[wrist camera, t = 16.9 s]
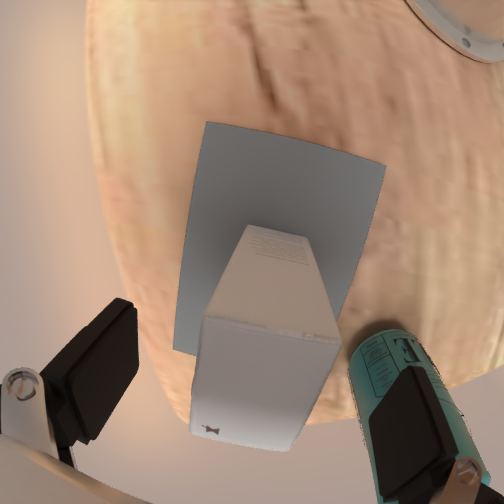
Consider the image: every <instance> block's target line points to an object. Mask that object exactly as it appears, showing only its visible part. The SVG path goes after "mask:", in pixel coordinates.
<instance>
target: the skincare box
mask: <svg viewBox="0 0 504 504" xmlns="http://www.w3.org/2000/svg"><path fill="white" fill-rule="evenodd" d="M342 344H343V342H342V339H341V336H340V333H339V330H338V327H337V323H336V320H335V317H334V314H333V311H332V308H331V305H330V302H329V298H328V295H327V292H326V289H325V286H324V283H323V280H322V277H321V274H320V271H319V268H318V266H317V263H316V260H315V257H314V254H313V251H312V248H311V246H310V243H309V240H308V238H306V237H304V236H299V235H294V234H289V233H285V232H281V231H276V230H272V229H268V228H263V227H259V226H254V225H247V227H246V229H245V231H244V233H243V235H242V237H241V239H240V241H239V243H238V245H237V247H236V249H235V251H234V253H233V254H232V256H231V259H230V261H229V263H228V265H227V267H226V268H225V270H224V273H223V275H222V277H221V279H220V281H219V283H218V285H217V287H216V289H215V291H214V293H213V295H212V298H211V300H210V302H209V304H208V306H207V308H206V310H205V312H204V314H203V316H202V319H201V327H200V335H199V343H198V351H197V359H196V366H195V374H194V378H193V382H192V390H191V396H192V398H191V411H190V425H189V432H190V433H191V434H193V435H196V436H200V437H204V438H209V439H213V440H217V441H222V442H226V443H231V444H236V445H242V446H246V447H253V448H258V449H265V450H273V451H284V452H286V451H289V450H291V448H292V446H293V445H294V443H295V441H296V439H297V438H298V436H299V434H300V432H301V430H302V429H303V427H304V425H305V423H306V421H307V419H308V417H309V415H310V414H311V412H312V410H313V407H314V405H315V403H316V401H317V399H318V397H319V395H320V393H321V391H322V388H323V386H324V384H325V382H326V380H327V378H328V376H329V374H330V371H331V369H332V367H333V365H334V362H335V360H336V358H337V355H338V353H339V351H340V349H341V347H342Z"/></svg>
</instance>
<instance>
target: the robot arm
mask: <svg viewBox="0 0 504 504" xmlns="http://www.w3.org/2000/svg"><path fill="white" fill-rule="evenodd" d="M406 1H407V3H408V4H409V5H410V7H411V8H412V9H413V10H414V12H415V13H416V14H417V16H418V17H419V18H420V19H421V20H422V21H423V22H424V23H425V24H426V25H427V26H428V27H429V28H430V29H431V30H432V31H433V32H434V33H435V34H436V35H437V36H439V37H440V38H441V39H442V40H443V41H445V42H446V43H447V44H449V45H450V46H451V47H452V48H454V49H456V50H457V51H459V52H460V53H462V54H463V55H465V56H467V57H469V58H471V59H473V60H476V61H479V62H482V63H491V64H493V63H497V62H501V61H503V60H504V0H406ZM138 367H139V354H138V320H137V309H136V308H134V305H133V303H132V302H129V301H126V300H124V299H120V298H115V299H114V300H113V301H112V302H111V303H110V304H109V305H108V306H107V307H106V308H105V309H104V310H103V311H102V312H101V313H100V314H99V315H98V316H97V317H96V318H94V320H93V321H91V322H90V323H89V325H88V326H85V327H84V328H83V329H82V330H81V331H80V332H79V333H78V334H77V335H76V336H75V337H74V338H73V339H72V340H71V341H70V342H69V343H68V344H67V345H66V346H65V347H64V348H63V349H62V350H61V351H60V352H59V353H58V354H57V355H56V356H55V357H54V358H53V360H52V361H51V362H50V363H49V364H48V365H47V366H46V367H45V368H44V369H43V370H42V371H41V372H40V373H37V372H36V371H35V370H33V369H30V368H24V367H21V368H16V369H14V370H11V371H10V372H9V373H8V374H7V375H6V376H5V377H4V379H3V382H2V384H0V504H152V503H150V502H147V501H144V500H141V499H139V498H136V497H134V496H131V495H129V494H126V493H124V492H122V491H119V490H117V489H115V488H112V487H110V486H108V485H106V484H104V483H102V482H100V481H98V480H96V479H93V478H91V477H90V476H88V475H86V474H83V473H82V472H80V471H78V468H77V465H76V461H75V457H74V453H73V449H72V446H73V445H74V443H75V442H76V440H78V441H80V442H82V443H84V444H86V445H88V443H89V441H90V440H95V439H96V438H97V437H98V435H99V433H100V432H101V430H102V428H103V427H104V425H105V423H106V422H107V420H108V418H109V417H110V415H111V413H112V412H113V410H114V409H115V407H116V405H117V404H118V402H119V401H120V399H121V397H122V396H123V394H124V392H125V391H126V389H127V388H128V386H129V384H130V383H131V381H132V379H133V378H134V376H135V375H136V373H137V371H138ZM368 424H369V429H370V435H371V440H372V446H373V452H374V459H375V465H376V472H377V479H378V487H379V493H380V496H382V497H383V503H389V502H396V501H397V500H398V503H399V504H504V497H503V496H502V495H501V494H499V493H498V492H496V491H495V490H493V489H491V488H490V487H488V486H487V485H485V484H484V483H482V482H481V480H482V470H481V467H480V465H479V464H478V462H477V461H476V460H475V459H473V458H471V457H469V456H463V457H460V458H459V459H457V460H456V459H455V457H456V456H457V455H458V454H459V450H458V448H457V445H456V442H455V439H454V437H453V434H452V431H451V429H450V426H449V424H448V421H447V419H446V416H445V414H444V411H443V409H442V406H441V404H440V402H439V399H438V397H437V395H436V393H435V390H434V388H433V386H432V384H431V381H430V379H429V377H428V375H427V373H426V371H425V369H424V367H422V366H413V365H409V366H407V367H406V368H405V369H403V370H402V371H401V372H400V374H399V375H398V377H397V378H396V380H395V381H394V383H393V384H392V386H391V387H390V388H389V390H388V391H387V393H386V394H385V396H384V397H383V398H382V400H381V401H380V402H379V404H378V405H377V407H376V408H375V409H374V410H373V412H372V413H371V415H370V417H369V420H368Z"/></svg>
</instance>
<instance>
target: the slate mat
mask: <svg viewBox="0 0 504 504" xmlns="http://www.w3.org/2000/svg"><path fill="white" fill-rule="evenodd" d="M385 169H386V166H385V165H382V164H380V163H377V162H374V161H371V160H368V159H365V158H362V157H358V156H355V155H352V154H349V153H346V152H342V151H339V150H335V149H332V148H329V147H325V146H321V145H318V144H314V143H310V142H306V141H302V140H298V139H294V138H290V137H286V136H281V135H277V134H272V133H268V132H263V131H258V130H253V129H248V128H243V127H237V126H232V125H226V124H220V123H213V122H206V126H205V130H204V135H203V140H202V145H201V149H200V154H199V159H198V165H197V170H196V175H195V181H194V186H193V192H192V198H191V204H190V210H189V216H188V222H187V229H186V235H185V242H184V249H183V257H182V264H181V272H180V280H179V289H178V298H177V307H176V317H175V328H174V340H173V350H177V351H180V352H183V353H187V354H190V355H194V356H197V351H198V343H199V335H200V327H201V319H202V316H203V314H204V312H205V310H206V308H207V306H208V304H209V302H210V300H211V298H212V295H213V293H214V291H215V289H216V287H217V285H218V283H219V281H220V279H221V277H222V275H223V273H224V270H225V268H226V267H227V265H228V263H229V261H230V259H231V256H232V254H233V253H234V251H235V249H236V247H237V245H238V243H239V241H240V239H241V237H242V235H243V233H244V231H245V229H246V227H247V225H254V226H259V227H263V228H268V229H272V230H276V231H281V232H285V233H289V234H294V235H299V236H304V237H306V238H308V240H309V243H310V246H311V248H312V251H313V254H314V257H315V260H316V263H317V266H318V268H319V271H320V274H321V277H322V280H323V283H324V286H325V289H326V292H327V295H328V298H329V302H330V305H331V308H332V311H333V314H334V317H335V320H336V321H337V319H338V316H339V314H340V311H341V309H342V306H343V304H344V301H345V298H346V296H347V293H348V290H349V288H350V285H351V282H352V279H353V277H354V274H355V271H356V268H357V265H358V262H359V259H360V256H361V253H362V250H363V247H364V244H365V241H366V238H367V235H368V231H369V228H370V225H371V221H372V218H373V215H374V211H375V208H376V204H377V200H378V197H379V193H380V189H381V185H382V181H383V177H384V173H385Z"/></svg>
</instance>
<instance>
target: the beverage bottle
mask: <svg viewBox="0 0 504 504" xmlns="http://www.w3.org/2000/svg"><path fill="white" fill-rule="evenodd" d="M416 338H417V337H416ZM416 338H414V337H413V336H412V335H411V334H410V333H408V332H406V331H403V330H399V329H389V330H384V331H381V332H378V333H376V334H374V335H372V336H370V337H368V338H367V339H366V340H364V341H363V342H362V343H361V344H360V345H359V346H358V347H357V348H356V350H355V351H354V353H353V355H352V357H351V359H350V364H349V369H348V370H349V376H350V378H349V379H348V380H351V384H352V385H351V386H352V387H351V386H350V387H351V388H353V391H352V392H354V395H352V396H355V399H354V397H353V400H356V403H355V404H354V405H356V404H357V408H358V412H359V416H360V421H361V422H360V423H361V424H362V429H363V433H364V437H365V441H366V445H367V448H368V453H369V458H370V463H371V468H372V473H373V478H374V484H375V490H376V495H377V501H378V504H399V503H398V500H397V501H396V502H389V503H383V497H382V496H380V493H379V487H378V479H377V472H376V465H375V459H374V452H373V446H372V440H371V435H370V429H369V424H368V420H369V417H370V415H371V413H372V412H373V410H374V409H375V408H376V407H377V405H378V404H379V402H380V401H381V400H382V398H383V397H384V396H385V394H386V393H387V391H388V390H389V388H390V387H391V386H392V384H393V383H394V381H395V380H396V378H397V377H398V375H399V374H400V372H401V371H402V370H403V369H405V368H406V367H407V366H409V365H413V366H422V367H424V369H425V371H426V373H427V375H428V377H429V379H430V381H431V384H432V386H433V388H434V390H435V393H436V395H437V397H438V399H439V402H440V404H441V406H442V409H443V411H444V414H445V416H446V419H447V421H448V424H449V426H450V429H451V431H452V434H453V437H454V439H455V442H456V445H457V448H458V450H459V454H458V455H457V456H456V457H455V459H456V460H457V459H459V458H460V457H463V456H469V457H471V458H473V459H475V460H476V461H477V462H478V464H479V465H480V467H481V470H482V480H481V482H482V483H484V484H485V485H487V486H489V483H490V480H491V476H490V474H489V472H488V471H487V470H486V468H485V465H484V463H483V461H482V459H481V457H480V454H479V452H478V450H477V448H476V446H475V444H474V442H473V440H472V437H471V436H470V434H469V432H468V430H467V427H466V425H465V422H464V421H463V418H462V416H464V415H460V413H459V411H458V408H457V407H456V405H455V403H454V402H453V400H452V398H451V396H450V395H449V393H448V390H447V389H446V387H445V386H446V385H445V384H443V382H442V381H441V379H440V377H439V375H440V373H439V371H438V370H437V368H436V370H437V371H438V374H439V375H438V374H437V372H436V370H435V369H434V367H436V366H434V363H432V362H433V361H431V360H430V359H431V358H430V356H428V355H427V354H428V353H426V352H425V350H424V348H423V347H422V346H421V344H420V343H419V342H418V341H417V340H416ZM433 366H434V367H433ZM347 374H348V371H347ZM347 376H348V375H347ZM440 376H441V375H440ZM443 381H444V380H443ZM349 383H350V381H349ZM444 385H445V386H444ZM351 388H350V389H351ZM352 392H351V393H352ZM355 407H356V406H355ZM358 412H357V413H358ZM359 416H358V417H359ZM358 417H357V418H358Z"/></svg>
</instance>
